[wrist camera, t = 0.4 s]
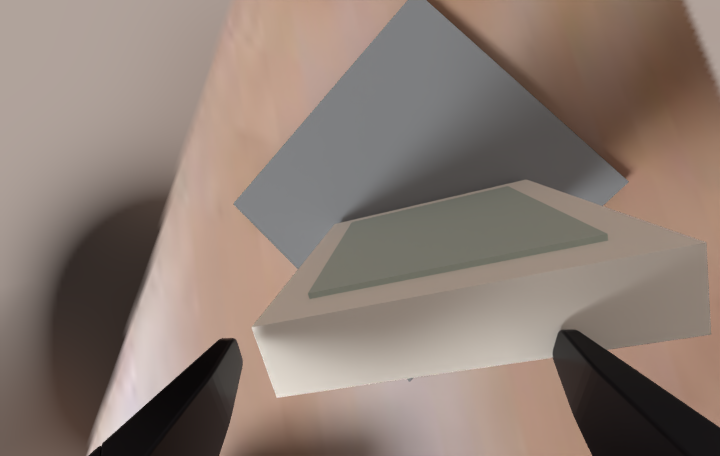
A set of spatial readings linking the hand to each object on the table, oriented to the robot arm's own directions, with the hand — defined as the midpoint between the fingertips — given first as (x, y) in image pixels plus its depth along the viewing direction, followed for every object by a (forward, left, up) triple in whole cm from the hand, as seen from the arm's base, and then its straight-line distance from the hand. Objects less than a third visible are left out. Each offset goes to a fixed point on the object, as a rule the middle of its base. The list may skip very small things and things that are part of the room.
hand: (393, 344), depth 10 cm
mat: (+3, -3, -14) cm, 15 cm away
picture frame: (+1, -3, -13) cm, 14 cm away
